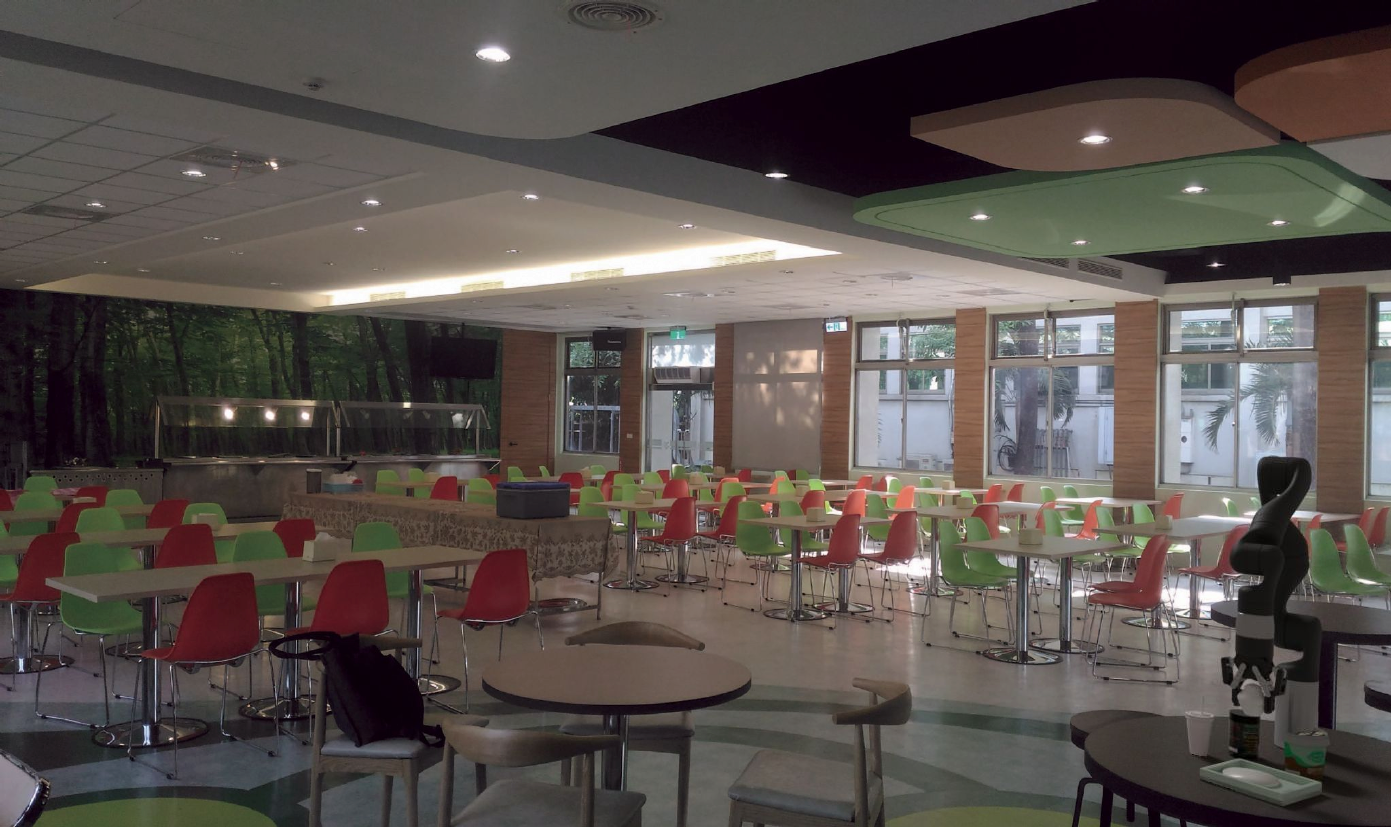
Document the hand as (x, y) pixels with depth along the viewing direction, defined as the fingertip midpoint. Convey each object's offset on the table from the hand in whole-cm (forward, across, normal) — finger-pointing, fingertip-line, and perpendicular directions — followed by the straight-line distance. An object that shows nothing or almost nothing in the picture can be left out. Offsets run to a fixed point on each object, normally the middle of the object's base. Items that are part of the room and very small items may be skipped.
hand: (1252, 709), depth 224 cm
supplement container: (+17, +12, -19) cm, 28 cm away
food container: (+17, -4, -18) cm, 25 cm away
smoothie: (+17, +18, -10) cm, 26 cm away
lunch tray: (+16, -2, 0) cm, 17 cm away
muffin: (+1, 0, 0) cm, 1 cm away
